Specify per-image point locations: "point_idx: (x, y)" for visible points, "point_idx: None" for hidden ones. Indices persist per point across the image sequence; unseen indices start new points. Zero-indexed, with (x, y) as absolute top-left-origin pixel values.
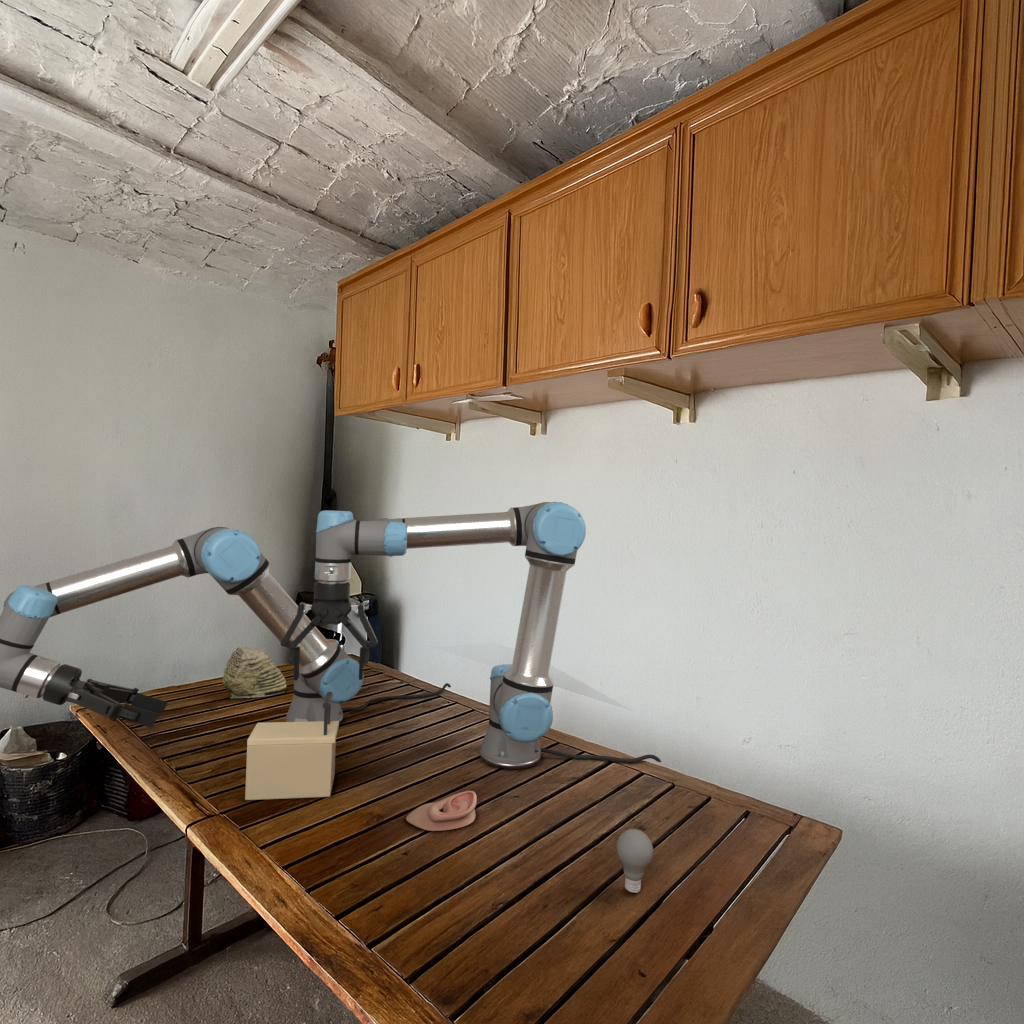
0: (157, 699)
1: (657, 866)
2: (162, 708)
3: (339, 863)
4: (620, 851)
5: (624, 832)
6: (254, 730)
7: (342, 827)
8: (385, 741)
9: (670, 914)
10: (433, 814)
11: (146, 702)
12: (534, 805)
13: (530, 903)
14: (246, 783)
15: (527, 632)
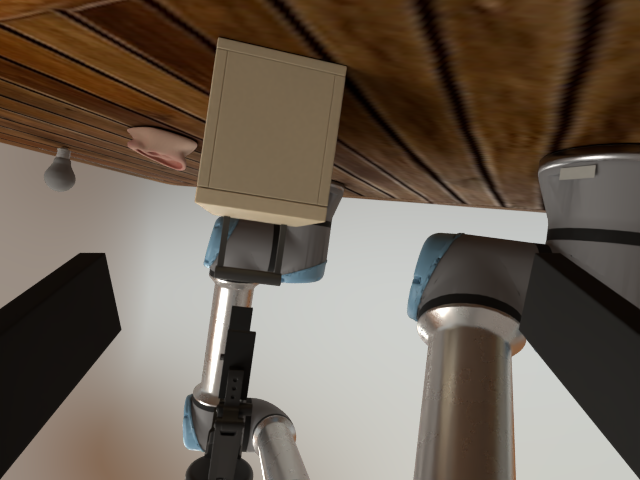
0: (562, 375)
1: (106, 158)
2: (533, 297)
3: (8, 75)
4: (49, 176)
5: (59, 188)
6: (264, 213)
7: (119, 95)
8: (422, 167)
9: (43, 145)
10: (132, 147)
11: (609, 384)
12: (199, 162)
13: (16, 124)
14: (212, 83)
15: (214, 327)
